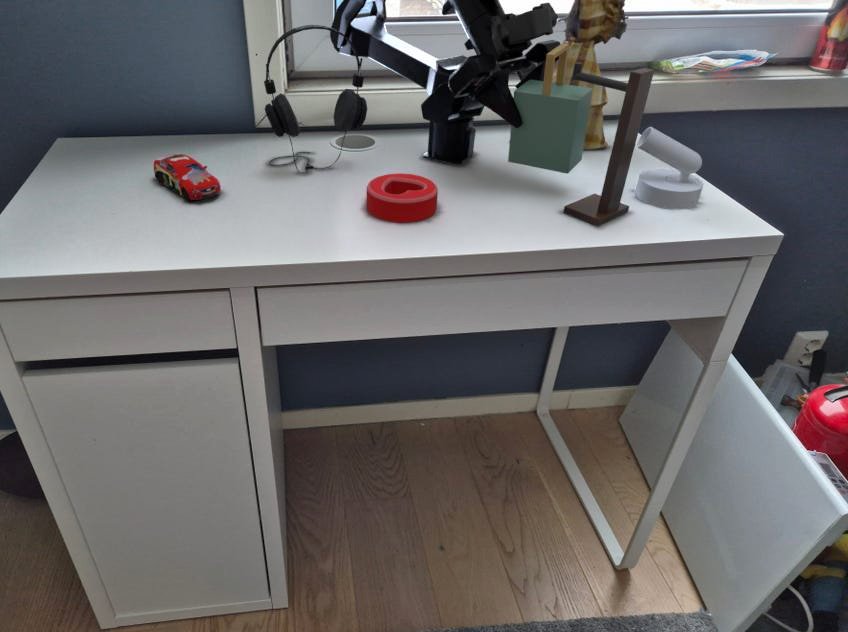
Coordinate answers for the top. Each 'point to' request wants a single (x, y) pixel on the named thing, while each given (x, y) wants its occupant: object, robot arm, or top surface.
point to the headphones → (347, 107)
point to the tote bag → (550, 119)
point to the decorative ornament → (401, 198)
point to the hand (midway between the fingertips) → (533, 122)
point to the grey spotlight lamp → (669, 173)
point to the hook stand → (615, 147)
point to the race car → (186, 177)
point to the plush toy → (591, 53)
